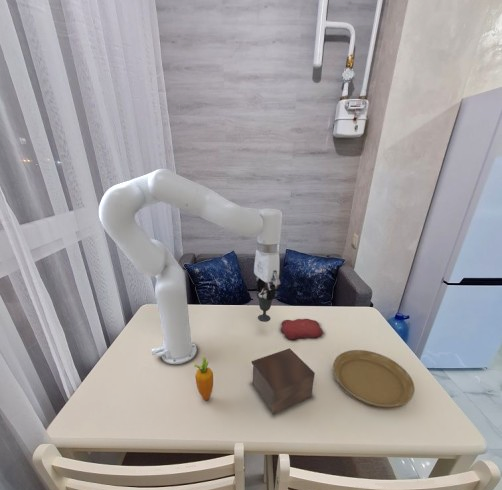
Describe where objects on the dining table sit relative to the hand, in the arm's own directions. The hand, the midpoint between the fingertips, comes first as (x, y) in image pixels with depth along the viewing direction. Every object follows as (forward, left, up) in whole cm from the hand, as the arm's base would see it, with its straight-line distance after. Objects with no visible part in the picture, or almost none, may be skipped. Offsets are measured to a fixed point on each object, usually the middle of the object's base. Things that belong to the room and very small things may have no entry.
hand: (265, 294), depth 95 cm
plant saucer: (+20, -34, -21) cm, 45 cm away
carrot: (-30, -17, -21) cm, 40 cm away
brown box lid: (-8, -24, -12) cm, 28 cm away
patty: (+18, 0, -21) cm, 28 cm away
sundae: (0, 0, -11) cm, 11 cm away
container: (-8, -24, -21) cm, 33 cm away
